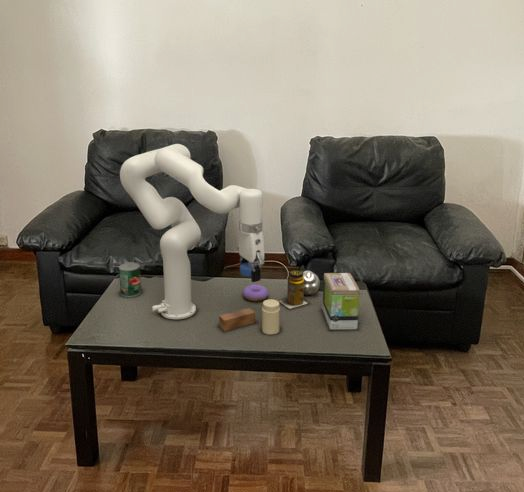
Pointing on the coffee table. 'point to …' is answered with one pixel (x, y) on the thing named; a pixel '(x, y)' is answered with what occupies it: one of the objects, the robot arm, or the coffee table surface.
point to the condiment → (295, 290)
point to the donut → (255, 292)
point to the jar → (270, 317)
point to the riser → (237, 319)
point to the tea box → (340, 301)
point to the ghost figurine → (310, 283)
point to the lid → (246, 269)
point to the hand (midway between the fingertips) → (250, 276)
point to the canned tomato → (130, 279)
